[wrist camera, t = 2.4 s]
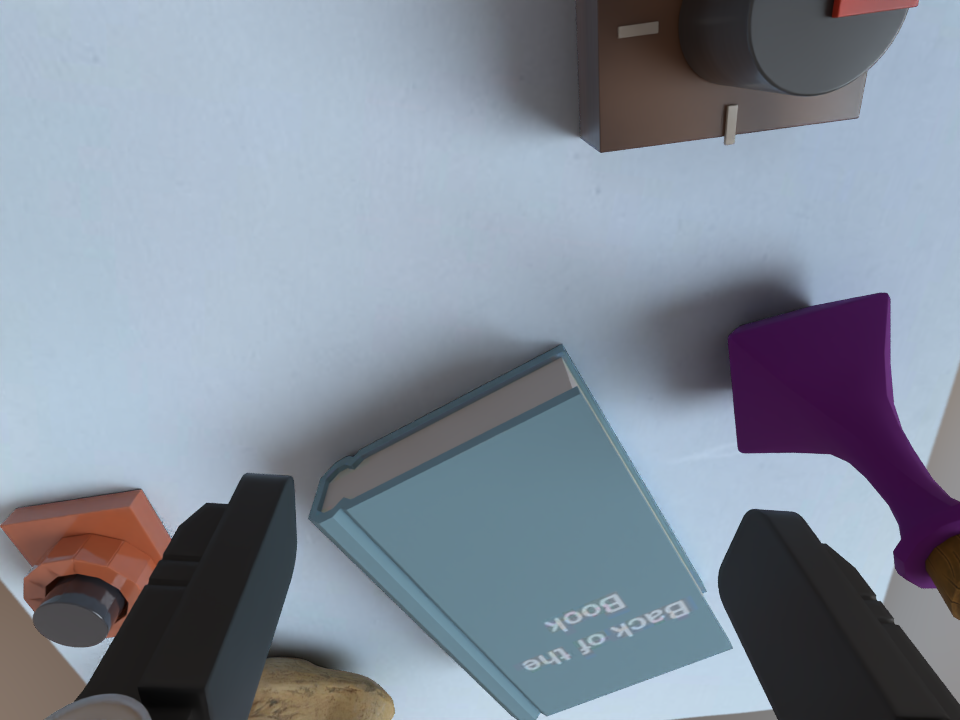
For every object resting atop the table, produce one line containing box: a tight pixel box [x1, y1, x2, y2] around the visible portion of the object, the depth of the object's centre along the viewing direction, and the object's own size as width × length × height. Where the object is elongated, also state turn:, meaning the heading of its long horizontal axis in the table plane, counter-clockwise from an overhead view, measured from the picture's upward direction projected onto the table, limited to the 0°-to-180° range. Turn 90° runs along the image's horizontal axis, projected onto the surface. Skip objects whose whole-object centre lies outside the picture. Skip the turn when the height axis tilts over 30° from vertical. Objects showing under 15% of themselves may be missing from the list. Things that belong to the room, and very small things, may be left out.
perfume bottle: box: [728, 293, 960, 620], centre depth 23 cm, size 8×8×18 cm
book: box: [308, 344, 733, 720], centre depth 35 cm, size 23×16×5 cm
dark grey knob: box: [33, 574, 125, 647], centre depth 33 cm, size 4×4×2 cm
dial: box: [678, 0, 919, 97], centre depth 17 cm, size 4×4×6 cm
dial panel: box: [576, 0, 867, 153], centre depth 22 cm, size 10×9×4 cm
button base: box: [0, 489, 171, 638], centre depth 35 cm, size 10×8×4 cm
